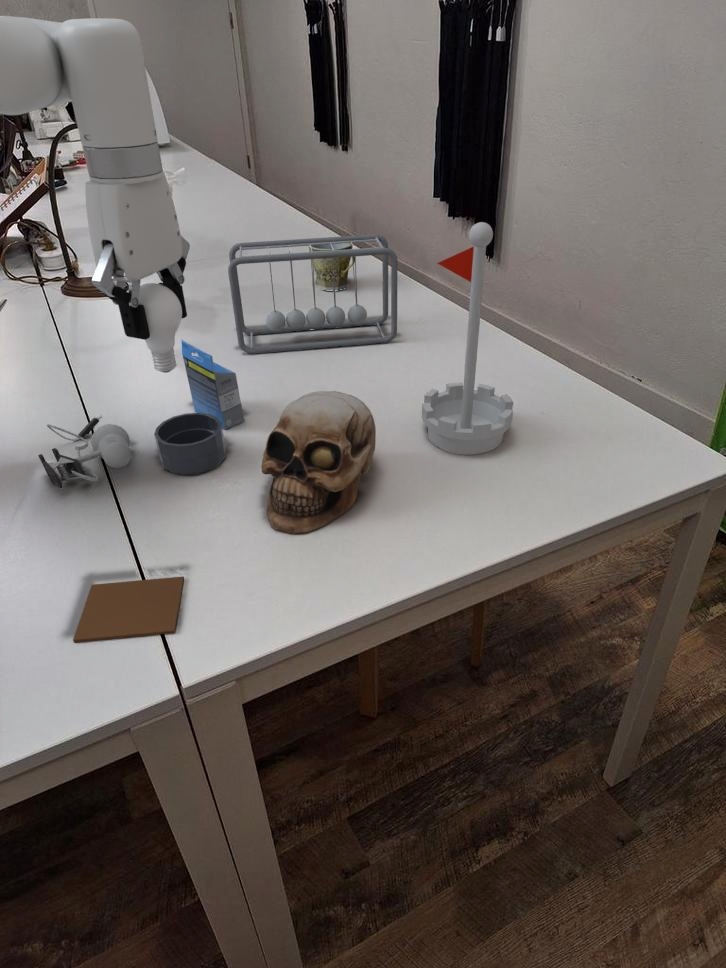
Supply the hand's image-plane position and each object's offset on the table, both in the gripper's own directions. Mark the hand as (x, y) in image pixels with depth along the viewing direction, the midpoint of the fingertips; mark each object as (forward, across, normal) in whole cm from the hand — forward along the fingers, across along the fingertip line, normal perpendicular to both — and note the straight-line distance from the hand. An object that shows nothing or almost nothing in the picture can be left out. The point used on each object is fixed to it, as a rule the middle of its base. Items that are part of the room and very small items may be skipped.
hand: (157, 325), depth 78 cm
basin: (+21, -3, -1) cm, 21 cm away
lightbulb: (+6, 0, 0) cm, 6 cm away
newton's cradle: (+21, -48, -4) cm, 53 cm away
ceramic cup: (+21, -76, -13) cm, 80 cm away
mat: (+21, +24, +11) cm, 34 cm away
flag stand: (+21, -23, +33) cm, 46 cm away
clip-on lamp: (+21, +3, -14) cm, 26 cm away
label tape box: (+21, -14, -4) cm, 26 cm away
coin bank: (+21, -3, +20) cm, 29 cm away
